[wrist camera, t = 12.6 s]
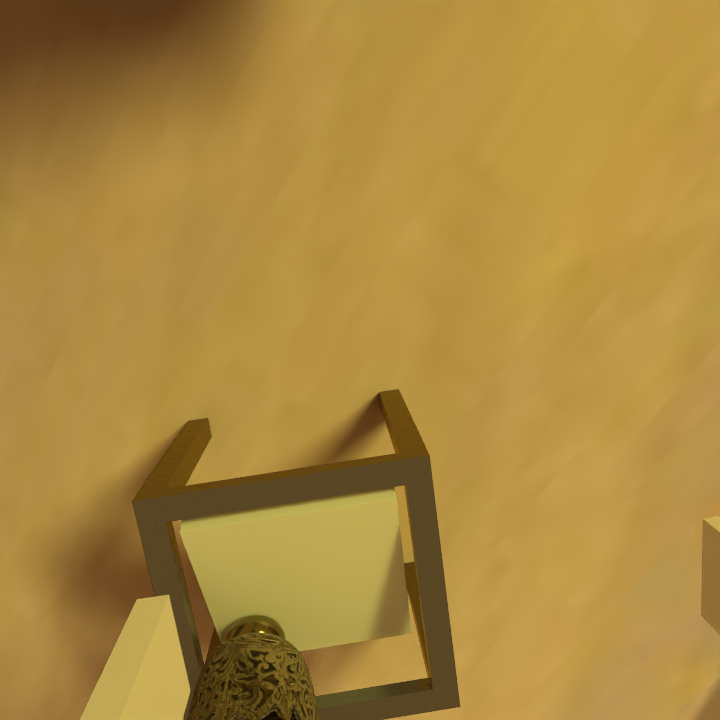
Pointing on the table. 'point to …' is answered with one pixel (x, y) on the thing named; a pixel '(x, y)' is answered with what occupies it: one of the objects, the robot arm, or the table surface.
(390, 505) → the trapdoor
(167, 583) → the trapdoor frame
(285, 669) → the dark piece
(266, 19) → the table surface
